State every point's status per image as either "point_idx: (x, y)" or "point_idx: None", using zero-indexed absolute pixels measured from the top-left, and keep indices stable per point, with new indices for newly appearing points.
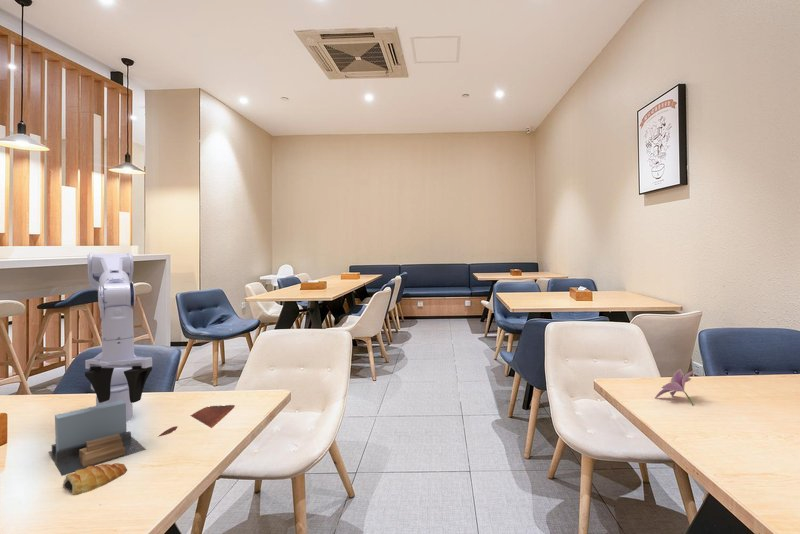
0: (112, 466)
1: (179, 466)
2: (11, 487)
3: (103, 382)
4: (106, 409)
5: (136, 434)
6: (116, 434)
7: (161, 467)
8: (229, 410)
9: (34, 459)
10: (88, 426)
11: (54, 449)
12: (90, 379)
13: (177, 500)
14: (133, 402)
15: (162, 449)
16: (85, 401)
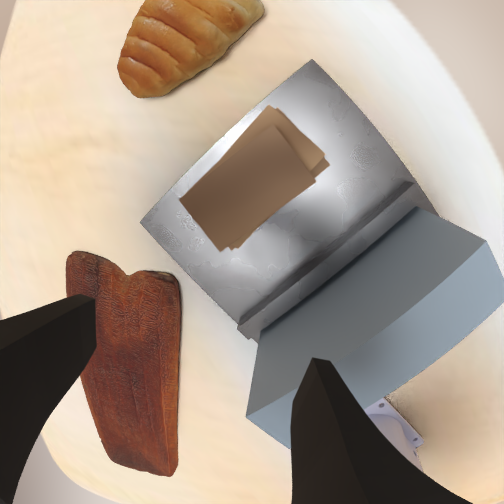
0: (144, 57)
1: (36, 137)
2: (431, 63)
3: (315, 486)
4: None
5: None
6: (224, 243)
7: (68, 131)
8: (102, 440)
9: None
10: (366, 294)
11: None
12: (417, 486)
13: (12, 19)
14: (79, 295)
15: (117, 246)
16: None
